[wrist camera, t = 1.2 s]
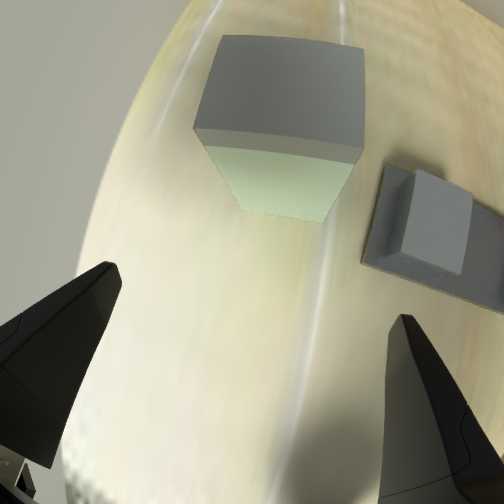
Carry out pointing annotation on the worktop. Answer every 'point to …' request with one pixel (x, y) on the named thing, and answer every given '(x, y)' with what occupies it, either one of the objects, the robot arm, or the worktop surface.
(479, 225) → the rail
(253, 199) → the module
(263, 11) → the worktop surface
